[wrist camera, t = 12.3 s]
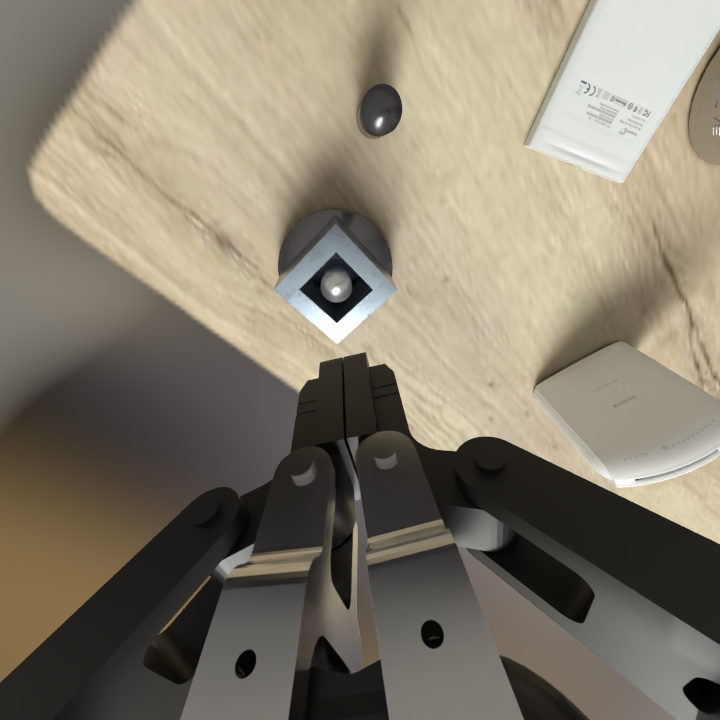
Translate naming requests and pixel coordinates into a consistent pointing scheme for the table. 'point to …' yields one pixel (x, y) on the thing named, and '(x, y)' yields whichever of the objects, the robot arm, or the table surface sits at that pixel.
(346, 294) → the hub
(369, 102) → the stand rod
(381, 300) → the hollow square housing
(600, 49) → the external hard drive
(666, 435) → the photo printer
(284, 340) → the table surface
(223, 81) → the table surface
